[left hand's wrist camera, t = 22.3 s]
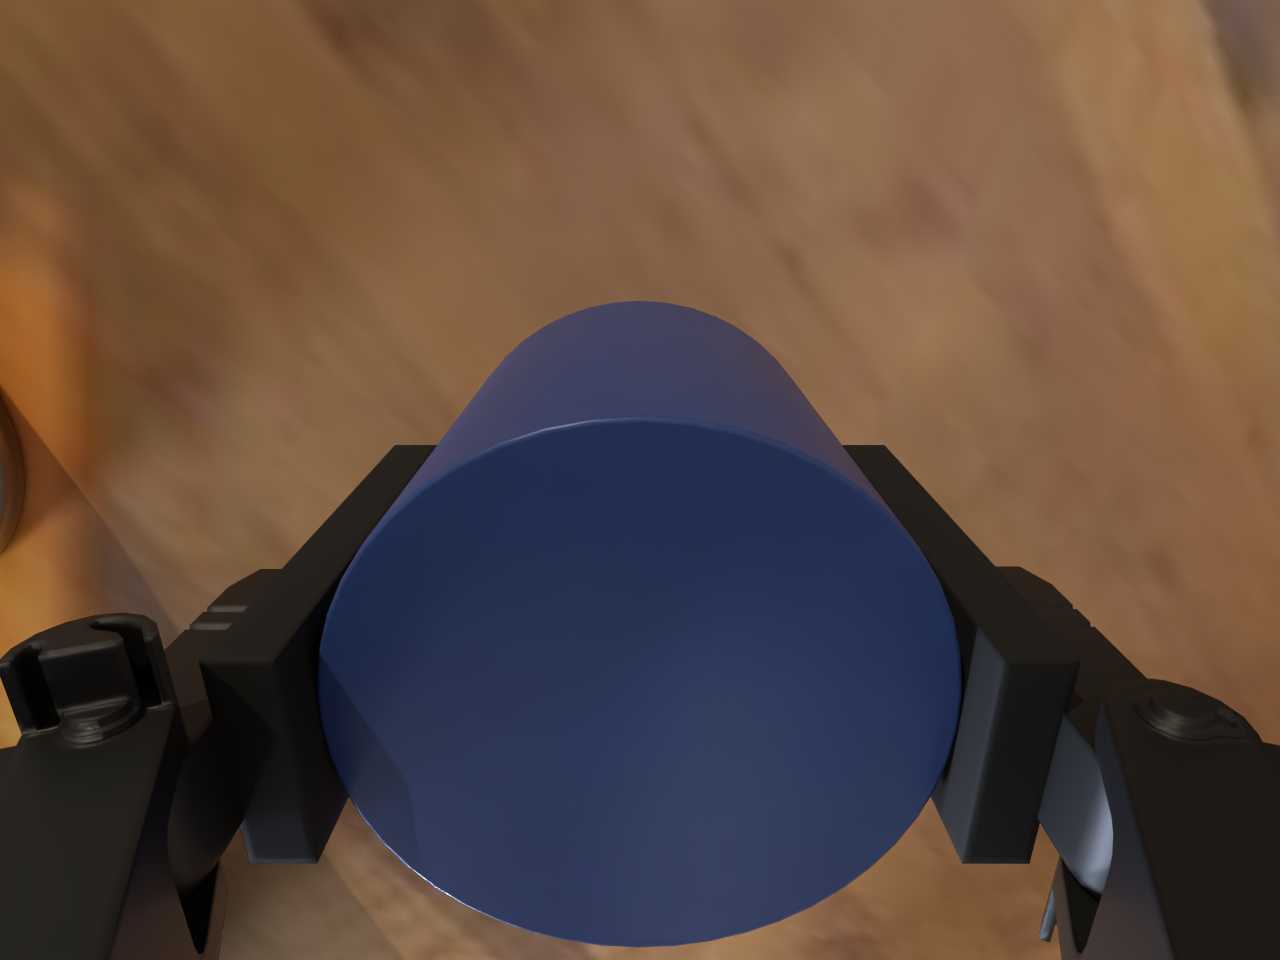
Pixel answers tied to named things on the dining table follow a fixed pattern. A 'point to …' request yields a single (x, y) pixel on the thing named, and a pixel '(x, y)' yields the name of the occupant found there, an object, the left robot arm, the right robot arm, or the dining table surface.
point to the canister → (639, 645)
